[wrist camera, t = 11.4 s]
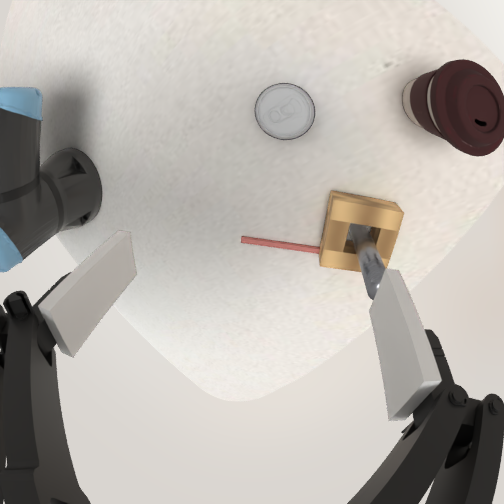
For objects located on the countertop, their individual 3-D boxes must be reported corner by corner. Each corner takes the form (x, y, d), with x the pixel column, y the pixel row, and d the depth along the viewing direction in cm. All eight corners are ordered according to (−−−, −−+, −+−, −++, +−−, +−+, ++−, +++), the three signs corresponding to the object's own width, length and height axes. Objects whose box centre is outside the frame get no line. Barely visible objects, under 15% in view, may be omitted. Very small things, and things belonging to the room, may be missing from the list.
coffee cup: (413, 56, 25) (469, 38, 12) (462, 103, 26) (527, 113, 14) (379, 105, 30) (425, 107, 17) (430, 151, 31) (488, 180, 18)
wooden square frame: (318, 252, 42) (319, 266, 39) (330, 190, 37) (333, 199, 34) (378, 261, 41) (384, 275, 38) (395, 202, 36) (404, 212, 33)
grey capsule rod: (346, 235, 40) (364, 299, 27) (350, 218, 39) (372, 277, 26) (364, 238, 40) (387, 302, 27) (368, 221, 38) (396, 280, 26)
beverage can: (318, 120, 33) (326, 126, 22) (279, 137, 35) (271, 151, 25) (297, 83, 31) (297, 71, 20) (259, 101, 33) (241, 99, 22)
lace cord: (241, 240, 43) (241, 242, 43) (242, 236, 43) (241, 237, 43) (318, 251, 42) (319, 253, 42) (319, 247, 42) (320, 249, 41)
